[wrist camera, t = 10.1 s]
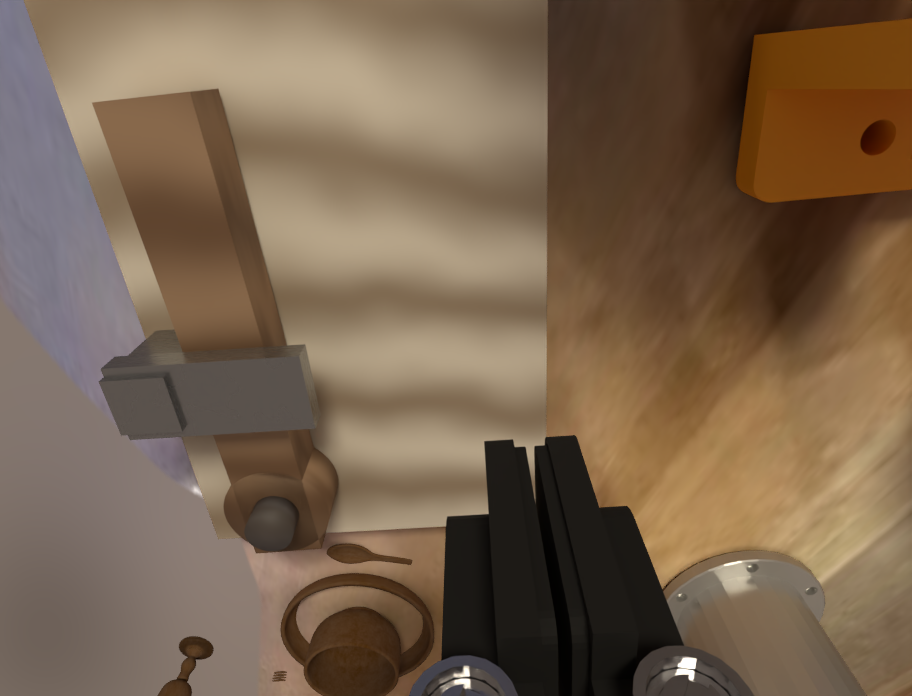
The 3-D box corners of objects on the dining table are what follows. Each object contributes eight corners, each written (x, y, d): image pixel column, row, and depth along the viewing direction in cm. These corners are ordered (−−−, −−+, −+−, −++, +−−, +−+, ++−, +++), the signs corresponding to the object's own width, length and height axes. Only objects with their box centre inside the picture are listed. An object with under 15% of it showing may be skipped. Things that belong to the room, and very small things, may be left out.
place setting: (409, 693, 49) (404, 768, 44) (178, 658, 47) (144, 732, 42) (459, 555, 42) (459, 626, 37) (186, 506, 39) (145, 573, 34)
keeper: (341, 358, 33) (314, 432, 27) (189, 368, 34) (124, 443, 27) (330, 296, 32) (297, 359, 25) (169, 307, 32) (94, 372, 25)
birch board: (541, 499, 39) (546, 520, 37) (229, 517, 39) (218, 539, 37) (541, -66, 24) (548, -77, 22) (44, -24, 25) (12, -31, 23)
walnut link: (346, 511, 36) (332, 568, 32) (255, 518, 36) (230, 576, 32) (240, 86, 25) (197, 90, 20) (109, 100, 25) (40, 107, 21)
